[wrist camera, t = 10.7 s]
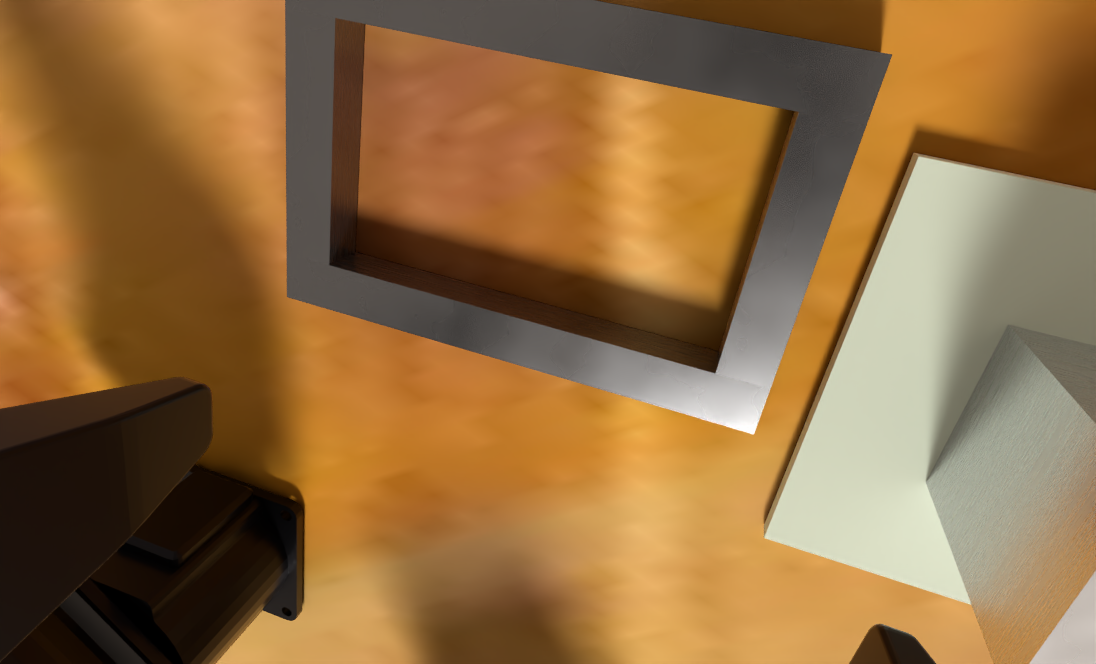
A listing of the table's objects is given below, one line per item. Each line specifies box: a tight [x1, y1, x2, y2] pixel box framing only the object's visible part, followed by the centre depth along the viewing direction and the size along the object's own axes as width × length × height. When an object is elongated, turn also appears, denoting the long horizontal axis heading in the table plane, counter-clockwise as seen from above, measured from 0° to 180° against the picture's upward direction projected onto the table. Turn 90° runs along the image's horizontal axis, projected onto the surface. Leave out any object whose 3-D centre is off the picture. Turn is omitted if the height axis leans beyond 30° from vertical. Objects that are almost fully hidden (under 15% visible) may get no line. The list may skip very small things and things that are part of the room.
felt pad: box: [764, 153, 1096, 604], centre depth 18 cm, size 12×12×1 cm
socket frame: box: [285, 0, 892, 434], centre depth 19 cm, size 10×15×2 cm, turn 80°
